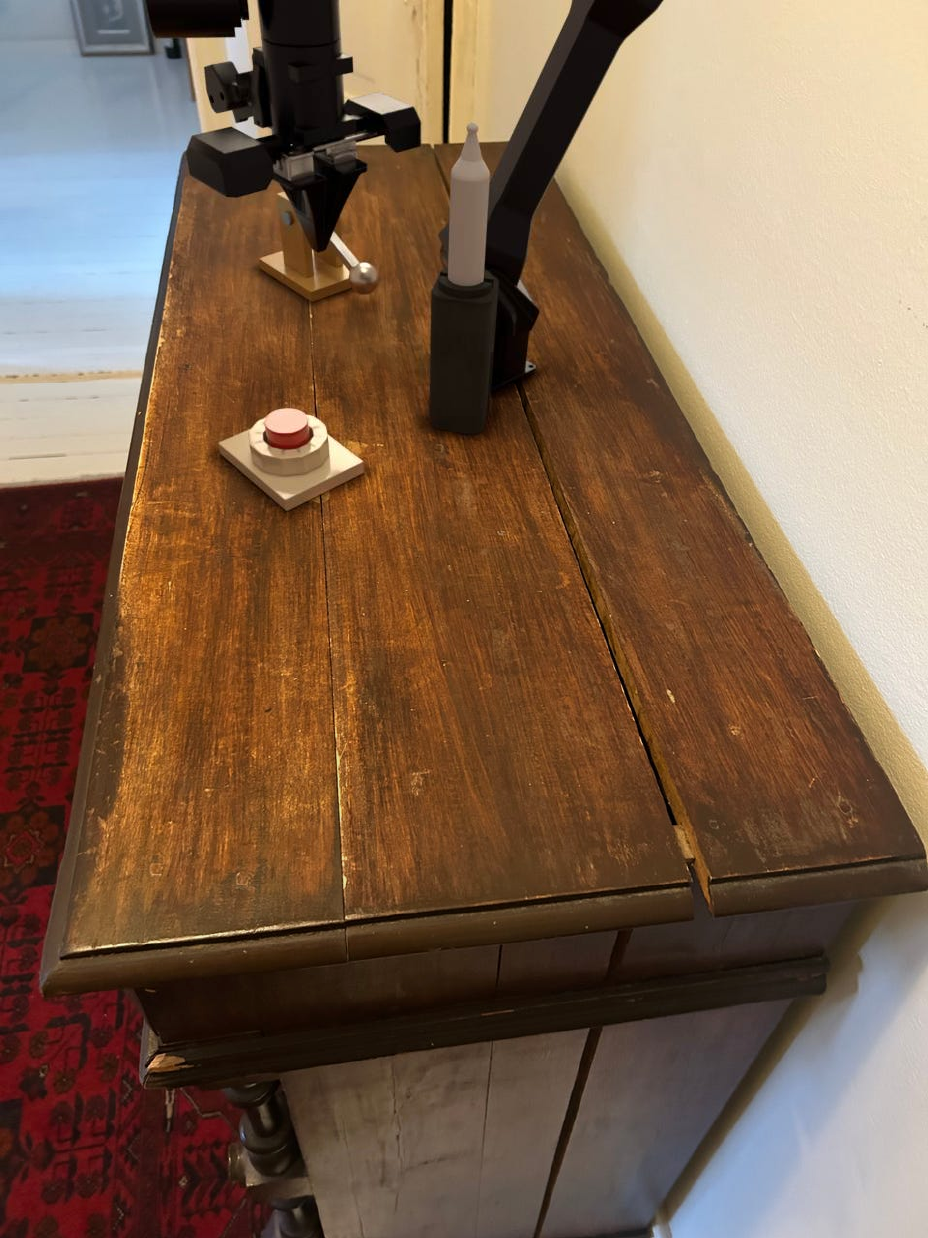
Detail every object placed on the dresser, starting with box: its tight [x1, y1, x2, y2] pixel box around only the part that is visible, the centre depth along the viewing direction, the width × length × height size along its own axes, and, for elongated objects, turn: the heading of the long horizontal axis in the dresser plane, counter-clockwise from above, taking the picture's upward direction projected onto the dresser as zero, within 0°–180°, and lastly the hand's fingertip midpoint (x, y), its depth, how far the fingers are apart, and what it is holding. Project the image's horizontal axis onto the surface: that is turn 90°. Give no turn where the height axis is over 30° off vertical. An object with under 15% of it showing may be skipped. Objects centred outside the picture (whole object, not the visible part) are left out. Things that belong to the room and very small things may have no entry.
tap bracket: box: [258, 191, 352, 303], centre depth 95 cm, size 10×8×9 cm
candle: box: [428, 121, 499, 435], centre depth 72 cm, size 5×5×25 cm
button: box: [264, 407, 310, 450], centre depth 72 cm, size 4×4×2 cm
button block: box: [217, 414, 365, 512], centre depth 74 cm, size 10×8×3 cm
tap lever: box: [328, 232, 380, 296], centre depth 93 cm, size 13×3×3 cm, turn 44°
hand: (318, 249), depth 74 cm, fingers closed
